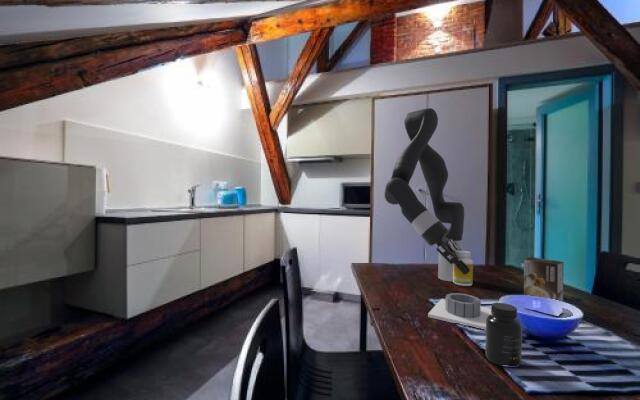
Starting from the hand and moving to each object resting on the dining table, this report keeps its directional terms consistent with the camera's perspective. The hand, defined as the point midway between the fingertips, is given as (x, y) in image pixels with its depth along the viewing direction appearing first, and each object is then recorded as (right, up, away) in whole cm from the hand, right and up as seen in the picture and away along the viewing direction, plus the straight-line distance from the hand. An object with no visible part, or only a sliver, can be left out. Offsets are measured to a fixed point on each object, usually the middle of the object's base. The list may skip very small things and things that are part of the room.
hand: (469, 270), depth 90 cm
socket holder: (-1, -14, +1) cm, 14 cm away
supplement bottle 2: (-4, -14, -24) cm, 28 cm away
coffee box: (+26, -14, +5) cm, 30 cm away
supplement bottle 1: (-2, -4, +1) cm, 5 cm away
